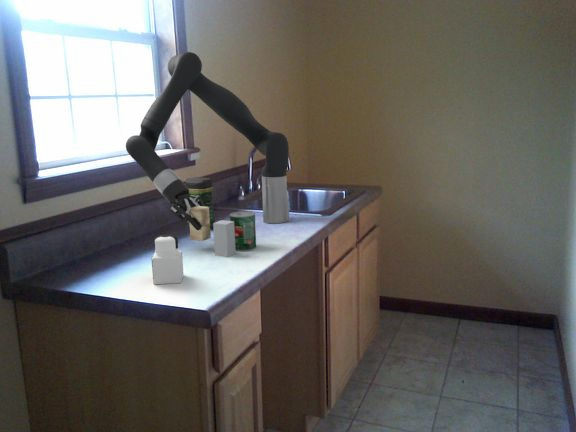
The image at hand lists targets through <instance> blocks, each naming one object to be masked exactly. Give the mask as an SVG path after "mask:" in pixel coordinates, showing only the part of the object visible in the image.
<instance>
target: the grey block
mask: <svg viewBox="0 0 576 432" xmlns="http://www.w3.org/2000/svg"><path fill="white" fill-rule="evenodd" d="M212 229H213V242H214V246H213V247H214V256H215V257H221V258H222V257H223V258H229V257H231V256H233V255H235V254H236V252H237V251H235V230H234V221H230V220H224V219H222V220H218V221H215V223H213V228H212Z"/></svg>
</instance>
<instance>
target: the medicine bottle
mask: <svg viewBox="0 0 576 432" xmlns="http://www.w3.org/2000/svg"><path fill="white" fill-rule="evenodd" d="M153 243H154V254H153V256H152V257H151V268H152V280H153V285H167V284H171V285H172V284H182V280H183V277H184V263H183V251H182V250H181V249H179V239H178V236H176V235H174V234H171V233H170V234H169V233H168V234H167V233H165V234H161V235H158V236H156V237H154V239H153Z"/></svg>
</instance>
